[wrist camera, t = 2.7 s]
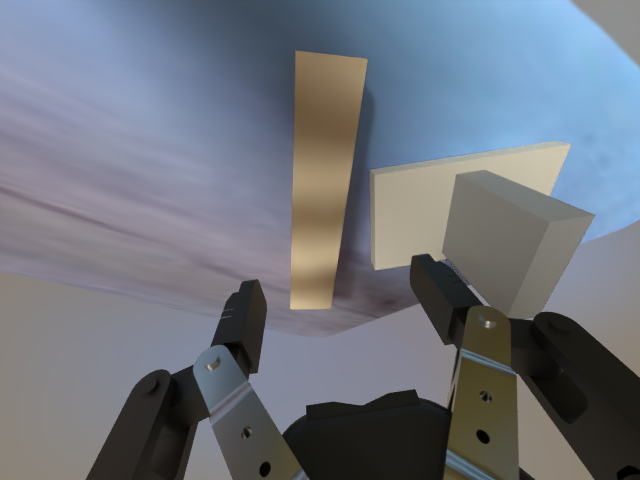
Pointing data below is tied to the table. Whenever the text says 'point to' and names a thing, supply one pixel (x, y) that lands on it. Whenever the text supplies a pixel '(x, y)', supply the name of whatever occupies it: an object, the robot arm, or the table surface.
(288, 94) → the table surface
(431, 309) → the robot arm
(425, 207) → the stand
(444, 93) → the table surface
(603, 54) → the table surface
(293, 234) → the rectangular block
